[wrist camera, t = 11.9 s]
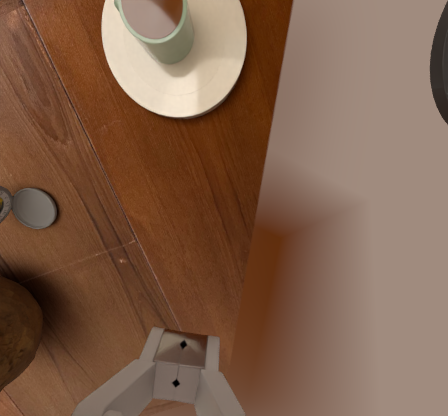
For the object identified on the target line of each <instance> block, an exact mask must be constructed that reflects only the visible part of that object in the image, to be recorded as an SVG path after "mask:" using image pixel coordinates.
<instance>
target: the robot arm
mask: <svg viewBox="0 0 448 416" xmlns="http://www.w3.org/2000/svg"><path fill="white" fill-rule="evenodd" d="M219 344H220V338H219V337H216V336H209V335H201V334H194V333H188V332H181V331H175V330H170V329H163V328H158V327H153V328H152V330H151V332H150V334H149V337H148V339H147V341H146V344H145V346H144V349H143V351H142V353H141V356H140V358H139V360H138V359H135V360H134V361H132V362H131V363H130V364H128V365H127V366H126V367H125V368H123V369H122V370H121V371H120V372H118V373H117V374H116V375H114V376H113V377H112V378H111V379H109V380H108V381H107V382H105V383H104V384H103V385H102V386H100V387H99V388H98V389H96V390H95V391H94V392H93V393H91V394H90V395H89V396H87V397H86V398H85V399H84V400H82V401H81V402H80V403H79V404H78V405H77V407H76V408H75V410H74V412H73V413H72V415H71V416H138V415H139V414H140V413H141V412H142V411H143V409H144V408H145V407H146V406H147V405H148V404H149V402H150V401H151V400H152V398H156V399H165V400H174V401H179V402H184V403H190V404H194V406H195V410H196V413H197V416H246V414H245V413H244V411H243V409H242V407H241V406H240V404H239V402H238V400H237V398H236V397H235V395H234V393H233V391H232V390H231V388H230V386H229V384H228V382H227V381H226V379H225V377H224V375H223V373H222V372H218V369H219Z"/></svg>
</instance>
